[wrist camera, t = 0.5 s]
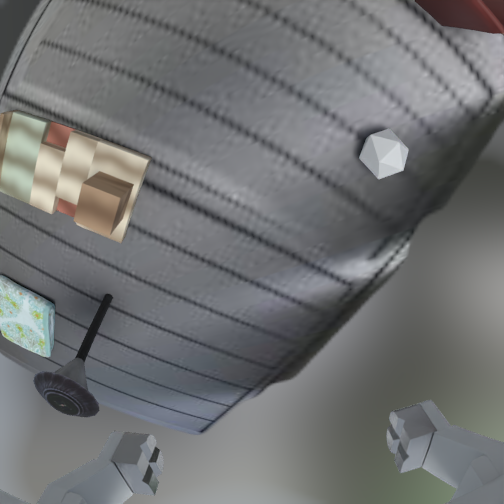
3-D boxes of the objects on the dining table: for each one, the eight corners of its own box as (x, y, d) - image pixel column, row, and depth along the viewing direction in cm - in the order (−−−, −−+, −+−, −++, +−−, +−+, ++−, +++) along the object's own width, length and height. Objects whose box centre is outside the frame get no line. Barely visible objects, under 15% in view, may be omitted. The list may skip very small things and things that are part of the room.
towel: (5, 326, 69) (-3, 337, 65) (1, 270, 61) (-9, 281, 56) (55, 351, 74) (48, 364, 69) (58, 298, 65) (49, 311, 61)
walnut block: (99, 171, 50) (82, 182, 43) (133, 184, 52) (120, 198, 45) (90, 205, 53) (73, 221, 46) (122, 218, 54) (109, 236, 48)
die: (346, 161, 55) (381, 195, 51) (354, 124, 48) (395, 158, 43) (375, 149, 57) (409, 180, 53) (385, 115, 50) (424, 145, 45)
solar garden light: (75, 293, 64) (21, 393, 38) (103, 263, 61) (43, 369, 35) (114, 326, 69) (78, 430, 43) (145, 300, 66) (110, 414, 40)
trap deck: (16, 109, 44) (0, 113, 39) (151, 157, 52) (143, 164, 47) (2, 185, 51) (-12, 194, 46) (124, 237, 59) (116, 250, 54)
